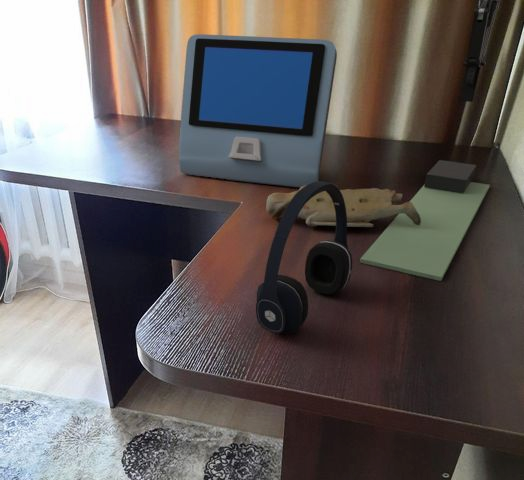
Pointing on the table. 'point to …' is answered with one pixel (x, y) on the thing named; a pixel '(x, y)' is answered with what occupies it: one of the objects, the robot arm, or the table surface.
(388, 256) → the green mat
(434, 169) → the black device
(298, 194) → the headphones
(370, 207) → the statue
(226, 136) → the touchscreen device
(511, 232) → the table surface
